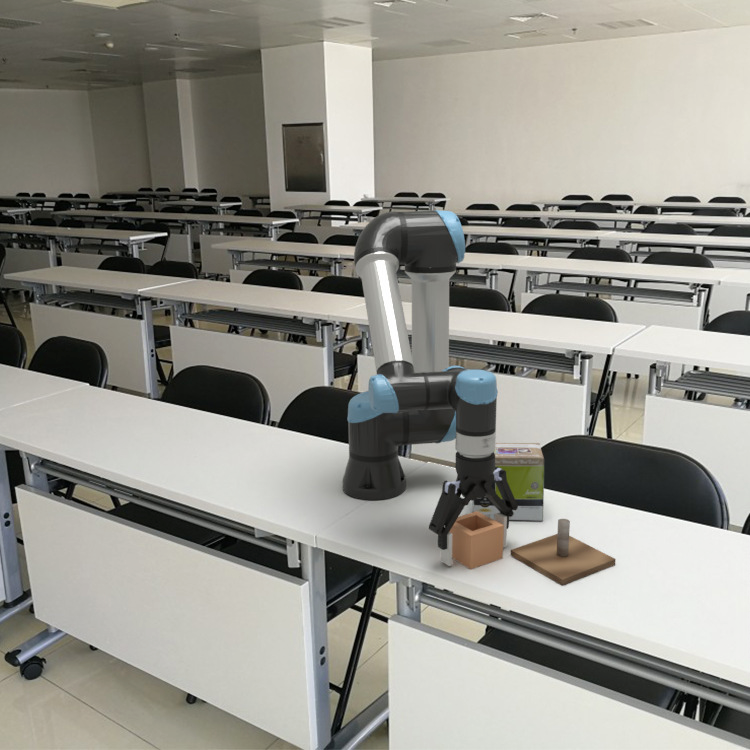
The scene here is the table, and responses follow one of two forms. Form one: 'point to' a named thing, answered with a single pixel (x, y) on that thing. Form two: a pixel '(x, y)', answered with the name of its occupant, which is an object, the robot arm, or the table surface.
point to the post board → (562, 556)
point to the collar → (476, 540)
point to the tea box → (518, 480)
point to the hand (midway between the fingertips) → (473, 553)
